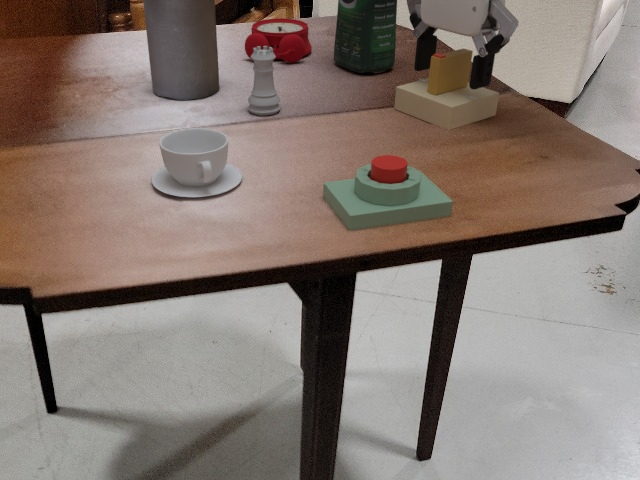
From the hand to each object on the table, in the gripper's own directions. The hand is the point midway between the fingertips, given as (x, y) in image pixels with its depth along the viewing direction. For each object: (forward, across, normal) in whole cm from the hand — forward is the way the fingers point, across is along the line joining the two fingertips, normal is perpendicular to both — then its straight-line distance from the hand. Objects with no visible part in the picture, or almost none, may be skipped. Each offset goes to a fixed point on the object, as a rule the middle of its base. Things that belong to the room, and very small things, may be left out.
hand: (450, 77), depth 95 cm
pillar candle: (+4, +29, +23) cm, 38 cm away
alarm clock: (+4, +35, +2) cm, 36 cm away
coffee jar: (+5, +22, -5) cm, 23 cm away
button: (+1, -16, +26) cm, 30 cm away
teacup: (+5, +1, +38) cm, 38 cm away
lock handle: (+2, 0, 0) cm, 2 cm away
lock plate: (+5, 0, 0) cm, 5 cm away
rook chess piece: (+5, +15, +19) cm, 25 cm away
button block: (+5, -16, +26) cm, 30 cm away
